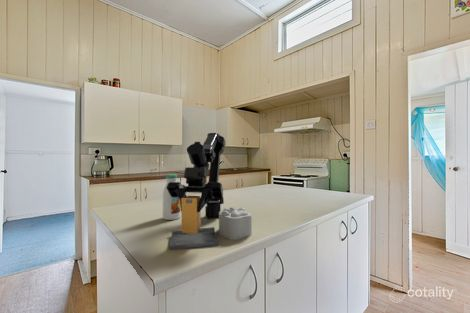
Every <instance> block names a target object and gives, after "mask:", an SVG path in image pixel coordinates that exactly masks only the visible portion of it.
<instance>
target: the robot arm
mask: <svg viewBox="0 0 470 313" xmlns="http://www.w3.org/2000/svg"><path fill="white" fill-rule="evenodd" d="M225 147H226V140H225V137H224V136H222V135H220V134H219V133H218V132H209V133H207V137H206V139H205V140H204V142H203V144H201V141H194V143H192V144H190V145H189V146H187V147H186V152H187V155H188V159H189V161H190V163H191V165H193V166H192V167H185V168H184V172H183V174H184V175H183V178H184V179H186V180H185V183H186V185H185V184H181V182H180V181H176V182H169V183H168V185H167V187H166V188H167V190H168V192H169V194H170V196H171V197H178V198H179V199H180V213H182V203H181V198H182V197H184V196H187V193H190V194H191V193H193V194H196V193H197V194H200V201H199V204H198V209H197V212H200V213H201V211H202V209H203V208H205V209H204V213H205V214H204V216H206V219H217V218H218V219H219V212H220V211H222V210H221V205H222V204H223V205H224V204H225V202H224V201H225V200H224V199H225V198H224V189H223V185H222V183H221V182H219V179H220V178H219V176H220V165H221V164H220V163H221V155H222V154H223V152H225ZM208 173H209V174H208ZM208 176H209V177H208ZM207 177H208V181H207Z"/></svg>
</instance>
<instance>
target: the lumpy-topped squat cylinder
mask: <svg viewBox="0 0 470 313" xmlns="http://www.w3.org/2000/svg"><path fill="white" fill-rule="evenodd" d="M252 233H253V232H252V213H250V212H248V211H246V209H245V208H244V207H240V208H237V209H236V208H235V207H233V206H231V207H229V208H227V207H226V208H224V209H222V210H221V211H220V212H219V218H218V234H220V235H221V236H222V237H224V238H227V239H231V240H240V239H242V238H246V237H250V236H252Z"/></svg>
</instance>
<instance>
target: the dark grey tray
mask: <svg viewBox="0 0 470 313" xmlns="http://www.w3.org/2000/svg"><path fill="white" fill-rule="evenodd" d="M218 246H220V241H219V238H218V235H217V233H216V230H215V227H214V226H213V227H203V228H201V229H200V230H199V232H198V233H182V229H176V230H175V229H173V230H171V237H170V243H169V251H174V250H184V249H193V248H194V249H196V248H205V247H206V248H207V247H218Z"/></svg>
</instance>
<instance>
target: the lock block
mask: <svg viewBox="0 0 470 313" xmlns="http://www.w3.org/2000/svg"><path fill="white" fill-rule="evenodd" d="M200 198H201V195H186V196H184V197H182V198H181V203H182V212H181V230H182V233H198V232H199V230H200V229H201V221H202V220H201V211H200V212H197V209H198V204H199V201H200Z"/></svg>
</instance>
